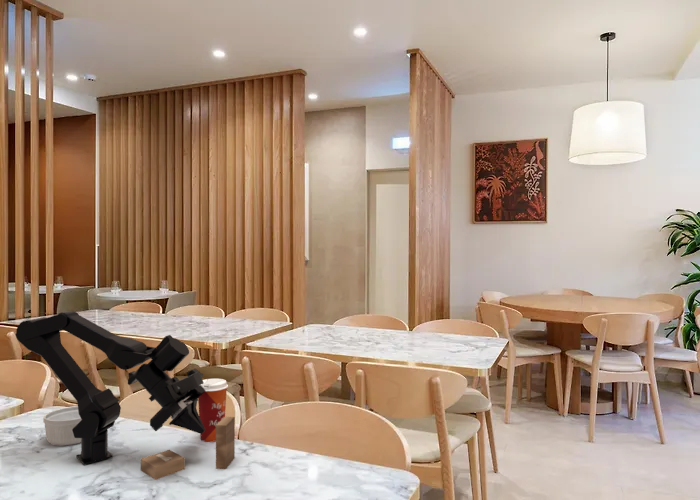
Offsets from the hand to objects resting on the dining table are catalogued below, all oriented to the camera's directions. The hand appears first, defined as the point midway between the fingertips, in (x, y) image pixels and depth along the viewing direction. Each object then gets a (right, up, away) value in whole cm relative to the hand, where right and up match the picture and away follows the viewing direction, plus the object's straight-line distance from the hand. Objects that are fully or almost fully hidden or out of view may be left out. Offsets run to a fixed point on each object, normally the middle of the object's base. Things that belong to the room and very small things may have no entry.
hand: (203, 432), depth 117 cm
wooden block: (+5, -7, -1) cm, 9 cm away
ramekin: (-40, -8, +15) cm, 43 cm away
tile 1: (-8, -7, -4) cm, 12 cm away
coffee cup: (-2, -7, +16) cm, 18 cm away
